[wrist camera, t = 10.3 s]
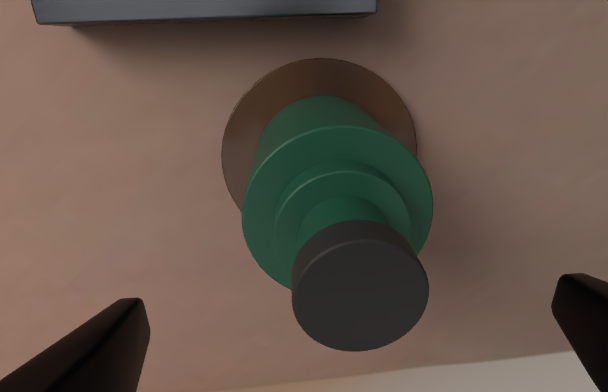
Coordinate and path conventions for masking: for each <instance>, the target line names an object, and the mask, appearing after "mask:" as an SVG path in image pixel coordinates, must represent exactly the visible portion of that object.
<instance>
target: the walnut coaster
mask: <svg viewBox="0 0 608 392" xmlns="http://www.w3.org/2000/svg"><path fill="white" fill-rule="evenodd" d="M312 96H334V97H339V98H342V99H346V100H348V101H351V102H353V103H355V104H357V105H358V106H360V107H361V108H363V109H364V110H365V111H366V112H367V113H368V114H370V115H371V116H372V117H373V118H374V119H375V120H376V121H377V122H378V123H380V124H381V125H382V126H383V127H384V128H385V129H386V130H387V131H388V132H390V133H391V134H392V135H393V136H394V137H395V138H396V139H397V140H399V141H400V142H401V143H402V144H403V145H404V146H405V147H406V148H407V149H409V150H410V151H411V152H412V154H413V155H414V156H415V157H417V143H416V134H415V130H414V126H413V122H412V120H411V117H410V115H409V112H408V110H407V108H406V106H405V105H404V103H403V101H402V100H401V98H400V97H399V96H398V94H397V93H396V92H395V91H394V89H393V88H392V87H391V86H390V85H388V84H387V83H386V82H385V81H384V80H383V79H382V78H380V77H379V76H377V75H376V74H374V73H373V72H371V71H369V70H367V69H365V68H363V67H361V66H359V65H356V64H353V63H350V62H347V61H343V60H337V59H329V58H314V59H305V60H300V61H296V62H292V63H289V64H287V65H284V66H282V67H279V68H277V69H275V70H273V71H272V72H270V73H268V74H266V75H265V76H264V77H262V78H261V79H260V80H258V81H257V82H256V83H255V84H254V85H253V86H252V87H251V88H250V89H249V90H248V91H247V92H246V93H245V94H244V95H243V97H242V98H241V99H240V101H239V102H238V103H237V105H236V107H235V108H234V110H233V112H232V114H231V116H230V118H229V121H228V123H227V126H226V129H225V133H224V137H223V142H222V154H221V155H222V168H223V174H224V179H225V182H226V185H227V188H228V190H229V192H230V194H231V196H232V198H233V200H234V202H235V203H236V205H237V206H238V208H239V209H240V211H241V212H242V204H243V199H244V195H245V191H246V187H247V184H248V180H249V176H250V173H251V169H252V165H253V161H254V158H255V154H256V150H257V146H258V143H259V140H260V137H261V135H262V133H263V131H264V129H265V127H266V126H267V124H268V123H269V122H270V120H271V119H272V118H273V117H274V116H275V115H276V114H277V113H278V112H279V111H281V110H282V109H283V108H285V107H286V106H288V105H290V104H292V103H293V102H296V101H298V100H301V99H304V98H308V97H312Z"/></svg>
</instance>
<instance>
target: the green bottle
mask: <svg viewBox="0 0 608 392" xmlns="http://www.w3.org/2000/svg"><path fill="white" fill-rule="evenodd" d="M432 217H433V197H432V190H431V186H430V182H429V180H428V177H427V175H426V173H425V170H424V169H423V167H422V166H421V164H420V162H419V161H418V159H417V158H416V157H415V156H414V155H413V154H412V152H411V151H410V150H409V149H407V148H406V147H405V146H404V145H403V144H402V143H401V142H400V141H399V140H397V139H396V138H395V137H394V136H393V135H392V134H391V133H390V132H388V131H387V130H386V129H385V128H384V127H383V126H382V125H381V124H380V123H378V122H377V121H376V120H375V119H374V118H373V117H372V116H371V115H370V114H368V113H367V112H366V111H365V110H364V109H363V108H361V107H360V106H358V105H357V104H355V103H353V102H351V101H348V100H346V99H342V98H339V97H334V96H312V97H308V98H304V99H301V100H298V101H296V102H293V103H292V104H290V105H288V106H286V107H285V108H283V109H282V110H281V111H279V112H278V113H277V114H276V115H275V116H274V117H273V118H272V119H271V120H270V122H269V123H268V124H267V126H266V127H265V129H264V131H263V133H262V135H261V137H260V140H259V143H258V146H257V150H256V154H255V158H254V161H253V165H252V169H251V173H250V176H249V180H248V184H247V187H246V191H245V195H244V199H243V204H242V228H243V233H244V237H245V240H246V243H247V246H248V248H249V250H250V252H251V254H252V256H253V257H254V259H255V260H256V261H257V263H258V264H259V266H260V267H261V268H262V269H263V270H264V271H265V272H266V273H267V274H268V275H269V276H270V277H272V278H273V279H274V280H275V281H277V282H278V283H280V284H281V285H283V286H285V287H287V288H289V289H291V290H292V306H293V311H294V314H295V317H296V319H297V321H298V323H299V324H300V326H301V327H302V329H303V330H304V331H305V332H306V333H307V334H308V335H309V336H310V337H311V338H313V339H314V340H315V341H317V342H319V343H320V344H323V345H325V346H327V347H330V348H333V349H337V350H342V351H368V350H372V349H377V348H380V347H383V346H386V345H388V344H390V343H392V342H394V341H396V340H398V339H399V338H401V337H402V336H404V335H405V334H406V333H407V332H409V331H410V330H411V329H412V328H413V327H414V326H415V325H416V323H417V322H418V321H419V319H420V318H421V316H422V314H423V312H424V310H425V308H426V305H427V301H428V296H429V283H428V278H427V274H426V272H425V270H424V268H423V266H422V264H421V262H420V261H419V259H418V257H417V255H418V253H419V252H420V250H421V249H422V247H423V245H424V243H425V241H426V239H427V236H428V233H429V230H430V227H431V222H432Z"/></svg>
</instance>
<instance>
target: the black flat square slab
mask: <svg viewBox="0 0 608 392" xmlns="http://www.w3.org/2000/svg"><path fill="white" fill-rule="evenodd" d="M31 4H32V7H33V11H34V14H35V18H36V22H37V23H38V24H40V25H54V26H97V25H129V24H162V23H194V22H226V21H258V20H290V19H322V18H354V17H367V16H370V15H374V14H376V12H377V0H31Z"/></svg>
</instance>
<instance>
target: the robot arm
mask: <svg viewBox="0 0 608 392" xmlns="http://www.w3.org/2000/svg"><path fill="white" fill-rule="evenodd" d="M551 308H552V313H553V315H554V317H555V319H556V321H557V322H558V324H559V326H560V327H561V329H562V331H563V332H564V334H565V336H566V337H567V339H568V341H569V342H570V344H571V346H572V347H573V349H574V351H575V352H576V354H577V356H578V357H579V359H580V361H581V362H582V364H583V366H584V367H585V369H586V371H587V372H588V374H589V376H590V377H591V379H592V380H593V382H594V383H595V385H596V386H597V388H598V389H599V390H600V392H608V282H605V281H602V280H600V279H597V278H594V277H592V276H589V275H587V274H583V273H574V274H564V275H562V276H561V277H560V278H559V280H558V283H557V287H556V290H555V294H554V297H553V301H552V305H551ZM149 340H150V326H149V322H148V318H147V314H146V310H145V306H144V303H143V301H142V299H140V298H123V299H119V300H118V301H116V302H115V303H113V304H112V305H110V306H109V307H107V308H106V309H104V310H103V311H101V312H100V313H99V314H97V315H96V316H94V317H93V318H91V319H90V320H88V321H87V322H85V323H84V324H82V325H81V326H79V327H78V328H76V329H75V330H74V331H72V332H71V333H69V334H68V335H66V336H65V337H63V338H62V339H60V340H59V341H57V342H56V343H54V344H53V345H51V346H50V347H49V348H47V349H46V350H44V351H43V352H41V353H40V354H38V355H37V356H35V357H34V358H32V359H31V360H29V361H28V362H26V363H25V364H24V365H22V366H21V367H19V368H18V369H16V370H15V371H13V372H12V373H10V374H9V375H7V376H6V377H4V378H3V379H1V380H0V392H136V390H137V386H138V382H139V378H140V374H141V371H142V367H143V363H144V359H145V355H146V351H147V347H148V344H149Z"/></svg>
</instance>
